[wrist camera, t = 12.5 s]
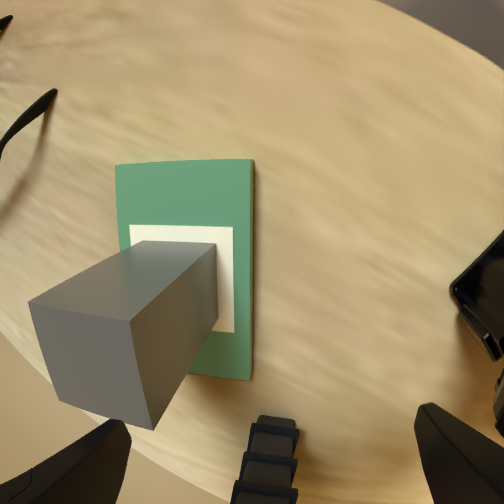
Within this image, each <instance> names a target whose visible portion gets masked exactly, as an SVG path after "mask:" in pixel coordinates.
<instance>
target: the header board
mask: <svg viewBox="0 0 504 504" xmlns="http://www.w3.org/2000/svg"><path fill="white" fill-rule="evenodd" d="M115 181H116V204H117V220H118V234H119V245H120V252H121V251H123V250H125V249H127V248H129V247H131V246H132V245H134V244H136V243H138V242H140V241H142V240H146V241H174V242H200V243H216V265H217V294H218V320H217V321H216V323H215V325H214V327H213V328H212V330H211V332H210V334H209V335H208V337H207V339H206V340H205V342H204V344H203V346H202V347H201V349H200V351H199V353H198V354H197V356H196V358H195V360H194V361H193V363H192V365H191V367H190V368H189V370H188V372H187V373H193V374H200V375H207V376H214V377H221V378H229V379H238V380H247V381H249V380H250V377H251V373H252V310H253V160H252V159H224V160H188V161H166V162H149V163H135V164H122V165H115Z"/></svg>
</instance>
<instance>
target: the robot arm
mask: <svg viewBox="0 0 504 504" xmlns="http://www.w3.org/2000/svg"><path fill="white" fill-rule="evenodd" d="M458 285H459V288H458V289H457V290H455V288H456V286H458ZM450 291H451V293H452V294H453V296H454V297H455V299H456V300H457V302H458V303H459V305H460V307H461V308H462V309H460V310H459V315H460V317H461V319H462V320H463V322H464V323H465V325H466V327H467V328H468V330H469V332H470V333H471V335H472V336H473V337H474V338H475V340H476V341H477V342H478V343H479V345H480V346H481V347H482V348H483V350H484V351H485V352H486V353H487V355H488V356H489V357H490V359H491V360H492V361H493V362H497V361H498V360H499V359H500V358H501V359H502V360H503V361H504V230H503V231H502V233H501V234H500V235H499V236H498V237H497V238H496V239H495V240H494V241H493V242H492V243H491V244H490V245H489V247H488V248H487V249H486V250H485V251H484V252H483V253H482V254H481V255H480V256H479V257H478V258H477V259H476V260H475V261H474V262H473V263H472V264H471V265H470V266H469V267H468V268H467V269H466V270H465V271H464V272H463V273H462V274H461V275H460V276H458V277H457V278H456V279H455V280H454V281H453V282H452V283H451V286H450ZM495 392H496V394H495V397H494V402H493V410H494V413H495V417H496V420H497V421H496V422H495V427H496V429H497V430H498V432H499V433H500V435H501V436H502V437H503V438H504V369H503V371H502V373H501V376H500V378H499V379H497V382H496V384H495ZM414 431H415V435H416V439H417V444H418V448H419V453H420V457H421V462H422V467H423V471H424V474H425V477H426V480H427V483H428V486H429V489H430V492H431V495H432V498H433V501H434V504H504V448H503V447H502V446H500V445H499V444H497V443H495V442H494V441H492V440H491V439H489V438H487V437H486V436H484V435H483V434H481V433H480V432H478V431H476V430H475V429H473V428H472V427H470V426H469V425H467V424H465V423H464V422H462V421H461V420H459V419H458V418H456V417H455V416H453V415H451V414H450V413H448V412H447V411H445V410H444V409H442V408H441V407H439V406H438V405H436V404H435V403H432V402H430V403H426V404H422V405H420V406H419V408H418V411H417V415H416V419H415V423H414ZM131 443H132V440H131V436H130V434H129V432H128V430H127V428H126V426H125V424H124V422H123V421H122V420H118V419H109V420H108V421H106V422H105V423H103V424H101V425H100V426H98V427H97V428H95V429H94V430H92V431H91V432H89V433H88V434H86V435H85V436H83V437H81V438H80V439H78V440H77V441H75V442H74V443H72V444H71V445H69V446H67V447H66V448H64V449H62V450H61V451H59V452H58V453H56V454H54V455H53V456H51V457H49V458H48V459H46V460H45V461H43V462H41V463H40V464H38V465H36V466H35V467H34V468H31V469H30V470H28V471H26V472H24V473H22V474H21V475H19V476H17V477H15V478H13V479H11V480H9V481H7V482H5V483H3V484H0V504H116V500H117V498H118V495H119V492H120V489H121V486H122V483H123V479H124V475H125V471H126V466H127V461H128V457H129V452H130V448H131Z"/></svg>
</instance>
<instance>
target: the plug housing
mask: <svg viewBox="0 0 504 504" xmlns="http://www.w3.org/2000/svg"><path fill="white" fill-rule="evenodd" d="M28 304H29V308H30V312H31V316H32V320H33V324H34V327H35V331H36V334H37V338H38V341H39V345H40V348H41V351H42V354H43V357H44V360H45V363H46V366H47V369H48V372H49V375H50V377H51V380H52V383H53V386H54V388H55V391H56V393H57V396H58V398H59V400H60V401H62V402H65V403H67V404H70V405H72V406H75V407H78V408H81V409H83V410H86V411H89V412H92V413H95V414H98V415H101V416H104V417H107V418H110V419H118V420H122V421H123V422H124V423H127V424H130V425H134V426H137V427H141V428H145V429H149V430H153V431H154V429H155V427H156V425H157V424H158V422H159V420H160V418H161V417H162V415H163V413H164V412H165V410H166V408H167V406H168V405H169V403H170V401H171V399H172V398H173V396H174V394H175V393H176V391H177V389H178V387H179V386H180V384H181V382H182V380H183V379H184V377H185V375H186V373H187V372H188V370H189V368H190V367H191V365H192V363H193V361H194V360H195V358H196V356H197V354H198V353H199V351H200V349H201V347H202V346H203V344H204V342H205V340H206V339H207V337H208V335H209V334H210V332H211V330H212V328H213V327H214V325H215V323H216V321H217V320H218V294H217V265H216V243H200V242H174V241H146V240H142V241H140V242H138V243H136V244H134V245H132V246H131V247H129V248H127V249H125V250H123V251H121V252H119V253H117V254H115V255H113V256H111V257H109V258H107V259H105V260H103V261H101V262H99V263H98V264H96V265H94V266H92V267H90V268H88V269H86V270H84V271H83V272H81V273H79V274H77V275H75V276H73V277H71V278H70V279H68V280H66V281H64V282H62V283H60V284H59V285H57V286H55V287H53V288H51V289H50V290H48V291H46V292H44V293H43V294H41V295H39V296H37V297H36V298H34V299H32V300H30V301H29V302H28Z"/></svg>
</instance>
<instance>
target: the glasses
mask: <svg viewBox="0 0 504 504" xmlns="http://www.w3.org/2000/svg"><path fill="white" fill-rule="evenodd" d="M12 18H13V16H12V15H9V16H6V17H4V18H2V19H0V30H3V28H4V27H5V26H6V25H7V24H8V22H9V21H10V20H11V19H12ZM56 92H57V89H54V88H53V89H51V90H50V91H48V92H47V93H45V94H44V95H43V96H42V97H40V98H39V99H38V100H37V101H36V102H35V103H34V104H32V105H31V106H30V107H29V108H28V109H27V110H26V111H25V112H24V113H23V114H22V115H21V116H20V117H19V118H18V119H17V120H16V121H15V123H14V124H13V125H12V126H11V127H10V129H9V130H8V131H7V132H6V134H5V135H4V137H3V138H2V139H1V141H0V159H1V154H2V151H3V149H4V147H5V145H6V144H7V142H8V141H9V140H10V139H11V138H12V137H13V136H14V135H15V134H16V133H17V132H19V131H20V130H21V129H22V128H23V127H25V126H26V125H27V124H29V123H30V122H31V121H33V120H34V119H35V118H37V117H38V116H39V115H41V114H42V113H43V112H44V111H46V110H47V108H48V106H49V104H50V103H51V101H52V99H53V97H54V96H55V94H56Z"/></svg>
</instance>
